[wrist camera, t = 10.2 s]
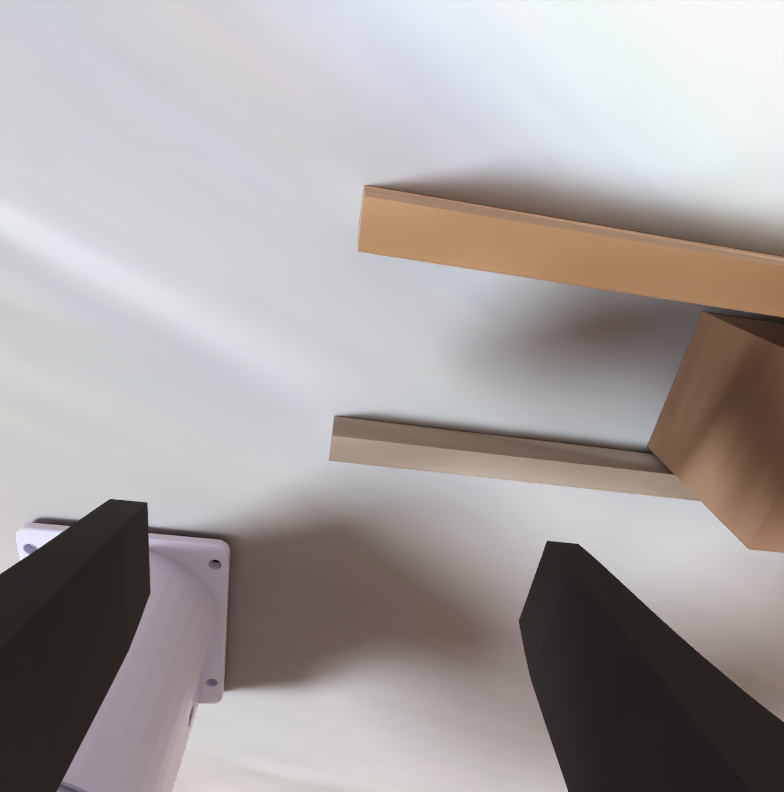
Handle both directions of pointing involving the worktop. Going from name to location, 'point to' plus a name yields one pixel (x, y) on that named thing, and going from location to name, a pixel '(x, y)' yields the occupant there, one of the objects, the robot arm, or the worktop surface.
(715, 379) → the cabinet block
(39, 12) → the worktop surface
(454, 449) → the board
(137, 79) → the worktop surface
